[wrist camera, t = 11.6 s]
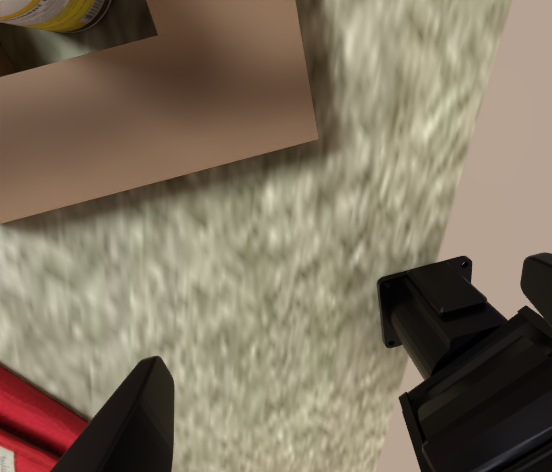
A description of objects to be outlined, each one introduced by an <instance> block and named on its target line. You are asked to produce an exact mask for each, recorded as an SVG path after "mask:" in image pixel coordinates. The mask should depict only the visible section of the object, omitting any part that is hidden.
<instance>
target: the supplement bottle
mask: <svg viewBox="0 0 552 472" xmlns="http://www.w3.org/2000/svg"><path fill="white" fill-rule="evenodd" d="M111 1H112V0H0V22H2V23H8V24H13V25H19V26H24V27H30V28H36V29H41V30H47V31H54V32H60V33H75V32H80V31H84V30H86V29H88V28H90V27H92V26H94V25H95V24H96V23H98V22H99V21H100V20H101V19H102V18H103V16H104V15H105V14H106V12H107V10H108V8H109V6H110V3H111Z"/></svg>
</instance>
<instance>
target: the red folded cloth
mask: <svg viewBox="0 0 552 472" xmlns="http://www.w3.org/2000/svg"><path fill="white" fill-rule="evenodd" d="M88 424H89V423H88V422H86V421H84V420H83V419H81V418H80V417H78V416H77V415H75V414H74V413H72V412H71V411H69V410H67V409H66V408H64V407H63V406H61V405H60V404H58V403H57V402H55V401H54V400H52V399H51V398H49V397H47V396H46V395H44V394H43V393H41V392H40V391H38V390H36V389H35V388H33V387H32V386H30V385H28V384H27V383H25V382H24V381H22V380H21V379H19V378H18V377H16V376H15V375H13V374H11V373H10V372H8V371H7V370H5V369H4V368H2V367H0V472H49V471H50V470H51V469H52V468H53V467H54V465H55V464H56V463H57V462H58V461H59V459H60V458H61V457H62V456H63V454H64V453H65V452H66V451H67V450H68V448H69V447H70V446H71V445H72V443H73V442H74V441H75V440H76V439H77V437H78V436H79V435H80V434H81V432H82V431H83V430H84V429H85V428H86V426H87V425H88Z"/></svg>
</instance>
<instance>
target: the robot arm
mask: <svg viewBox="0 0 552 472" xmlns="http://www.w3.org/2000/svg"><path fill="white" fill-rule="evenodd" d="M464 262H465V263H464ZM463 263H464V264H463ZM462 264H463V265H462ZM471 275H472V261H471V260H470V259H469V258H468V257H466V256H460V257H456V258H452V259H449V260H445V261H441V262H437V263H434V264H430V265H426V266H422V267H418V268H415V269H411V270H407V271H403V272H400V273H396V274H392V275H388V276H385V277H382V278H380V279H379V280H378V282H377V290H378V299H379V309H380V318H381V327H382V337H383V342H384V344H385V346H386V347H387V348H393V347H397V346H400V345H403V346H404V348H405V349H406V351H407V353H408V354H409V356H410V358H411V359H412V361H413V362H414V364H415V366H416V367H417V369H418V371H419V372H420V374H421V375H422V377H423V379H424V380H425V381H423V382H422V383H421V384H419V385H418V386H416V387H415V388H414V389H412V390H411V391H409V392H408V393H407V392H405V393H404V394H402V395H401V396H400V397H399V400H400V404H401V406H402V410H403V411H402V413H403V416H404V419H405V422H406V425H407V428H408V431H409V435H410V438H411V441H412V444H413V447H414V451H415V454H416V457H417V460H418V464H419V466H420V470H421V472H552V254H550V253H539V254H536V255H532V256H529V257H527V258H526V259H525V260H524V263H523V269H522V276H521V284H520V285H521V289H522V291H523V293H524V294H525V296H526V297H527V298H528V299H529V300H530V302H531V303H532V304H533V305H534V306H535V308H536V309H537V310H538V311H539V313H540V314H541V315H542V316H543V318H542V317H541V316H540V315H539V314H537V313H536V312H535V311H533V310H532V309H530V308H529V307H528V306H524V307H523V308H521V309H520V310H519V311H518V314H516V315H515V316H514V317H512V318H511V319H510V320H507V319H506V318H505V317H504V316H503V315H501V314H500V313H499V312H498V311H497V310H496V309H495V308H494V307H493V306H492V305H491V304H489V303H488V302H487V298H486V297H485V296H484V295H483V294H482V293H481V292H479V291H478V290H477V289H476V288H475V287H474V286H473V285H472V284H471ZM385 283H387V284H386V285H384V284H385ZM383 285H384V286H383ZM173 446H174V380H173V377H172V375H171V374H170V372H169V370H168V369H167V367H166V365H165V363H164V362H163V360H162V358H161V357H160V356H153V357H149V358H145V359H143V360H141V361H140V362H139V363H138V364H137V365H136V367H135V368H134V369H133V370H132V371H131V373H130V374H129V375H128V376H127V378H126V379H125V380H124V381H123V382H122V384H121V385H120V386H119V387H118V389H117V390H116V391H115V392H114V393H113V395H112V396H111V397H110V398H109V399H108V401H107V402H106V403H105V404H104V406H103V407H102V408H101V409H100V410H99V412H98V413H97V414H96V415H95V417H94V418H93V419H92V420H91V421H90V423H89V424H88V425H87V426H86V428H85V429H84V430H83V431H82V432H81V434H80V435H79V436H78V437H77V439H76V440H75V441H74V442H73V443H72V445H71V446H70V447H69V448H68V450H67V451H66V452H65V453H64V454H63V456H62V457H61V458H60V459H59V461H58V462H57V463H56V464H55V465H54V467H53V468H52V469H51V470H50V471H49V472H171V470H172V461H173Z"/></svg>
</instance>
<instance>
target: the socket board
mask: <svg viewBox="0 0 552 472" xmlns="http://www.w3.org/2000/svg"><path fill="white" fill-rule="evenodd" d="M146 2H147V5H148V7H149V10H150V13H151V16H152V19H153V22H154V25H155V28H156V31H157V33H158V35H157V36H153V37H149V38H145V39H142V40H138V41H134V42H130V43H127V44H123V45H119V46H115V47H112V48H108V49H104V50H100V51H97V52H93V53H89V54H85V55H82V56H78V57H74V58H70V59H67V60H63V61H59V62H55V63H52V64H48V65H44V66H40V67H37V68H33V69H29V70H25V71H22V72H18V73H16V71H15V69H14V67H13V65H12V64H11V62H10V60H9V58H8V56H7V55H6V53H5V51H4V49H3V47H2V45H1V44H0V224H1V223H5V222H9V221H13V220H16V219H20V218H24V217H28V216H31V215H35V214H39V213H43V212H46V211H50V210H54V209H58V208H62V207H65V206H69V205H73V204H77V203H80V202H84V201H88V200H92V199H95V198H99V197H103V196H107V195H110V194H114V193H118V192H122V191H125V190H129V189H133V188H137V187H140V186H144V185H148V184H152V183H155V182H159V181H163V180H167V179H171V178H174V177H178V176H182V175H186V174H189V173H193V172H197V171H201V170H204V169H208V168H212V167H216V166H219V165H223V164H227V163H231V162H234V161H238V160H242V159H246V158H249V157H253V156H257V155H261V154H264V153H268V152H272V151H276V150H279V149H283V148H287V147H291V146H295V145H298V144H302V143H306V142H310V141H313V140H317V139H319V138H318V132H317V126H316V120H315V114H314V108H313V102H312V96H311V90H310V84H309V78H308V72H307V66H306V60H305V55H304V49H303V43H302V37H301V31H300V25H299V19H298V13H297V7H296V1H295V0H146Z"/></svg>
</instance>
